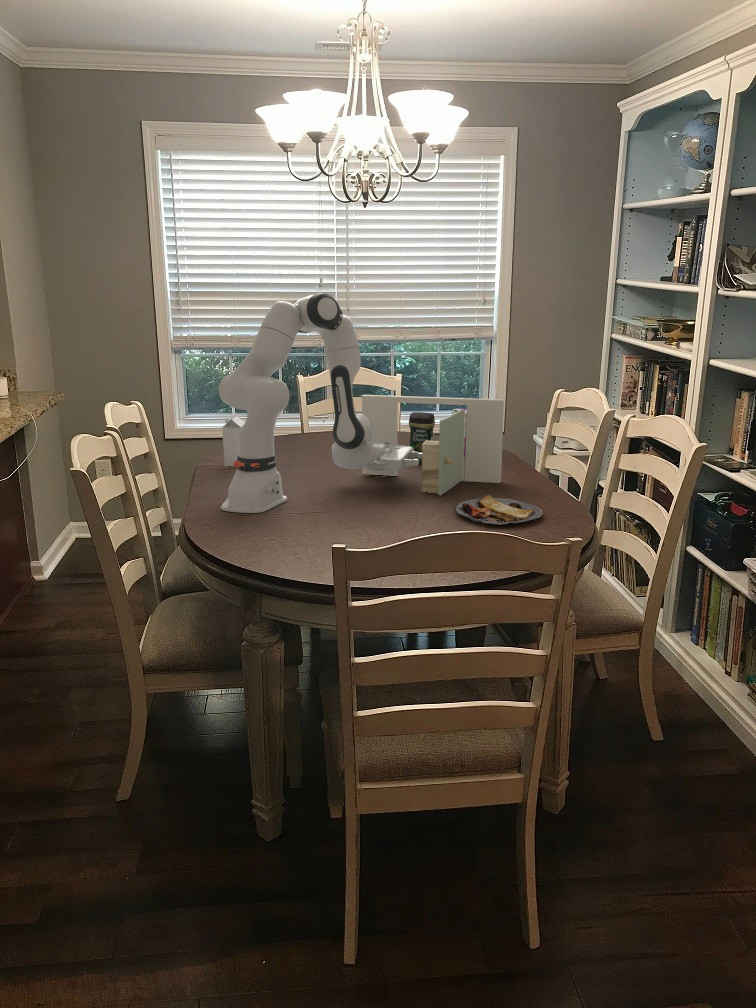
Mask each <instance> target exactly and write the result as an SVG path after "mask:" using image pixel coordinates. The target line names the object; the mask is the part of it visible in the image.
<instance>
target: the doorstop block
mask: <svg viewBox="0 0 756 1008" xmlns="http://www.w3.org/2000/svg"><path fill="white" fill-rule="evenodd" d="M438 489H439V440H433V441H427V440H425V442H424V443H423V444H422V463H421V493H425V492H428V494H429V493H430V494H438Z"/></svg>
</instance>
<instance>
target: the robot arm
mask: <svg viewBox="0 0 756 1008" xmlns="http://www.w3.org/2000/svg"><path fill="white" fill-rule="evenodd" d="M310 332H311V333H312V332H317V333H319V335H320V337H321V338H322V341H323V343H324V344H323V345H324V351H325V356H326V363H327V368H328V371H329V372H328V373H329V377H330V382H331V383H330V385H331V393H332V394H331V395H332V399H333V409H334V423H333V427H332V438H333V440H334V442H333V444H332V445H331V451H330V455H331V459H332V461H333V463H334V464H335V466H337V467H340V468H345V469H350V470H361V469H363V468H365V469H368V470H381V471H385V470H397V471H401V470H403V468H405V467H412V466H416V467H417V466H418V465H420V463H419V460H418V459H413V460H411V459H412V458H419V459H422V453H419V452H416V451H413V448H412V447H410V446H409V445H401V444H397V445H391V443H370V440H371V435H372V423H371V421H370V419H369V418H368V417H367V416H365V415H363V414H362V413H356V409H355V403H354V402H355V401H354V395H353V386H354V385H353V384H354V381H355V378H356V376H357V375H358V373H359V371H360V369H361V363H362V362H361V360H362V359H361V351H360V345H359V339H358V335H357V332H356V330H355V327H354V324H353V321H352V319H351V318H350V317H349V316H347V315H345V314H344V313H343V311H342V310H341V307H340V305H339V302H338V300H337V299H336V298H335V297H334V295H331V294H330V293H325V292H317V293H315V294H310V295H306V296H303V297H302V298H300V299H298V300H294V301H293V302H292V303H291V302H289V301H285V300H284V301H283V300H280V301H276V302H274V303H273V304H272V306H270V308H269V310H268V311H267V313H266V315H265V317H264V319H263V321H262V322H261V325H260V327H259V330H258V331H257V335H256V336H255V339H254V341H253V344H252V346H251V348H250V350H249V352H248V354H247V355H246V356H245V358H244V359H243V360H242V361H241V363H240V364H239V365H238V366H237V368H235V369H234V370H233V371H232V372H230V373H229V374H227V375H226V376H224V377H223V378H222V379H221V381H220V383H219V386H218V395H219V398H220V400H221V401H222V402H223V403H224V404H226V405H227V406H229V407H232V408H234V409H236V410H243V411H246V412H247V414H246V419H245V422H244V423H245V424H244V425H243V426H242V427H240V429H239V430H238V434H237V435H238V454H239V455H238V456H237V461H234V463H233V465H234V468H236V470H235V473H234V475H233V477H232V480H231V482H230V485H228V486H229V487H228V491H227V498H226V499H225V501H224V502H223V503H222V504H221V506H220V510H222V511H225V512H229V513H230V512H232V513H240V514H245V513H246V514H256V513H257V514H259V513H265V512H266V511H268V510H271V509H273V508H274V507H277V506H279V505H281V504H283V503H285V502H287V501H288V496H286V495H284V493H283V491H284V490H283V484H282V476H281V473H280V472H279V471H278V469H277V468H276V467H277V455H276V453H275V428H276V424H277V420H278V418H279V416H280V414H281V413H282V412H283V411H284V410H286V408H287V406H288V404H289V400H290V391H289V388H288V385H287V384H285V382H284V381H282V380H280V379H279V378H278V379H277V378H275V377H272V375H273V374H274V373H275V372H277V371H279V370H281V369H282V368H283V367H284V366H285V365H286V362H287V359H288V358H289V355H290V352H291V350H292V347H293V345H294V342H295V339H296V337H297V334H298V333H301V334H307V333H310Z"/></svg>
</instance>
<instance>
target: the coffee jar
mask: <svg viewBox="0 0 756 1008" xmlns="http://www.w3.org/2000/svg"><path fill="white" fill-rule="evenodd" d="M435 420H436V419H435V414H434V413H433V412H424V411H417V412H416V411H413V412H411V413H410V414H409V419H408V426H409V430H410V432H409V433H410V436H409V445H408V446H410V447H412V448H413V451H416V452H419V453H422V444H423V443H424V442H425V440H427V441H434V428H435V425H436V421H435ZM413 459H418V460H419V464H422V459H419V458H412V459H411V460H413Z"/></svg>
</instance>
